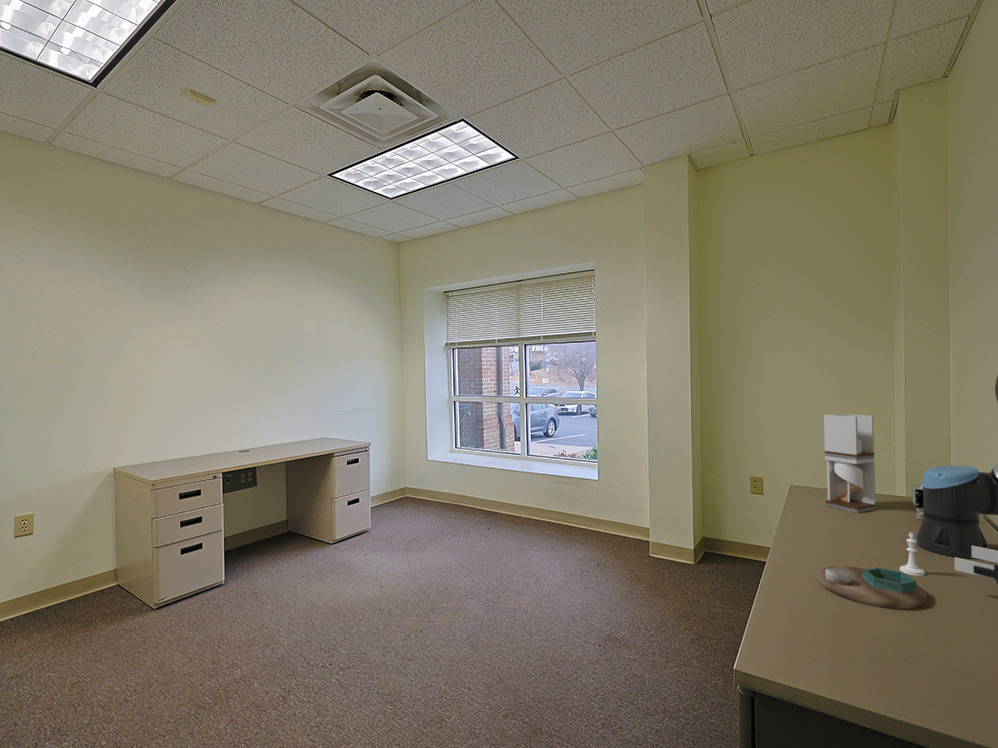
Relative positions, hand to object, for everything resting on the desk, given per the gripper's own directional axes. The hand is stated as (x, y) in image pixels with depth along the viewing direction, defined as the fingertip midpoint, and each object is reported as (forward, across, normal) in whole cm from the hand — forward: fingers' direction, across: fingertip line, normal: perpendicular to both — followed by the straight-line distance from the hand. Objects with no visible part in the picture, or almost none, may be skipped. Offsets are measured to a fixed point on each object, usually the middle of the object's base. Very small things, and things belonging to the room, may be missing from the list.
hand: (963, 557), depth 115 cm
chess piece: (+10, 0, -7) cm, 12 cm away
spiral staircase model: (+44, +57, -7) cm, 73 cm away
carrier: (+12, -20, -7) cm, 25 cm away
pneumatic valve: (+23, +60, -7) cm, 65 cm away
